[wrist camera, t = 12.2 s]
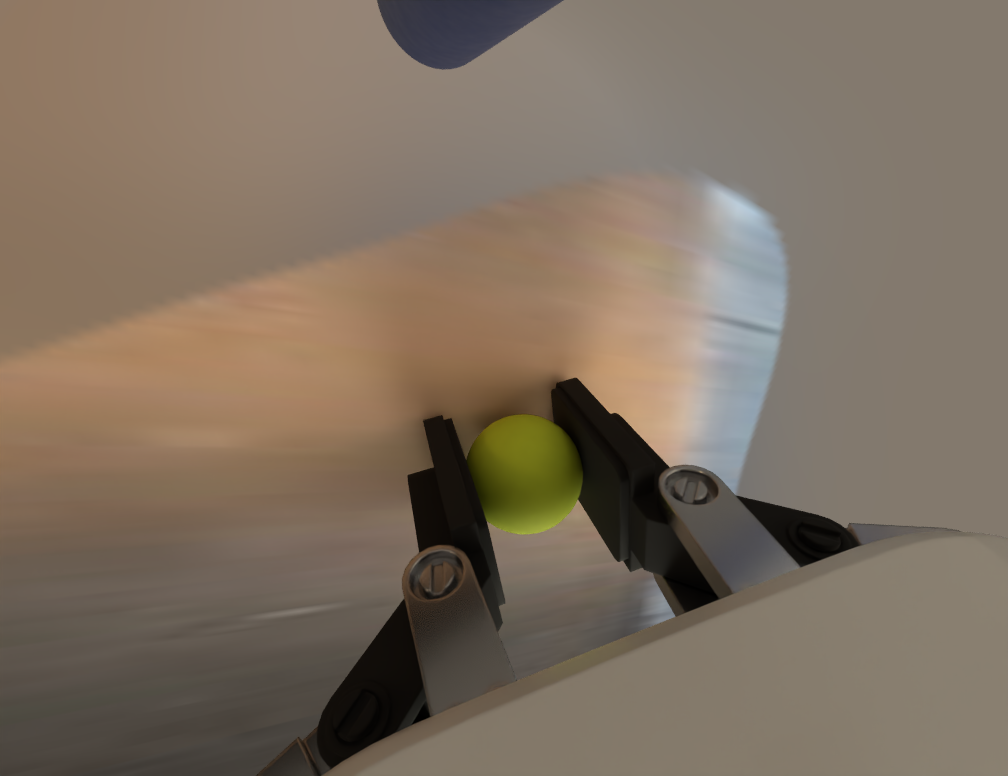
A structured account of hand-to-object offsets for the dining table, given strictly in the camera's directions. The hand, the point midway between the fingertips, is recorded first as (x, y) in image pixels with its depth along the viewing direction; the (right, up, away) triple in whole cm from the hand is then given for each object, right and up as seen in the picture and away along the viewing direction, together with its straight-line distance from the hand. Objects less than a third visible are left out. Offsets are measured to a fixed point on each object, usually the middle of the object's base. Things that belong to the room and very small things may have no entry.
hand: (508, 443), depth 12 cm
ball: (0, -1, -1) cm, 1 cm away
